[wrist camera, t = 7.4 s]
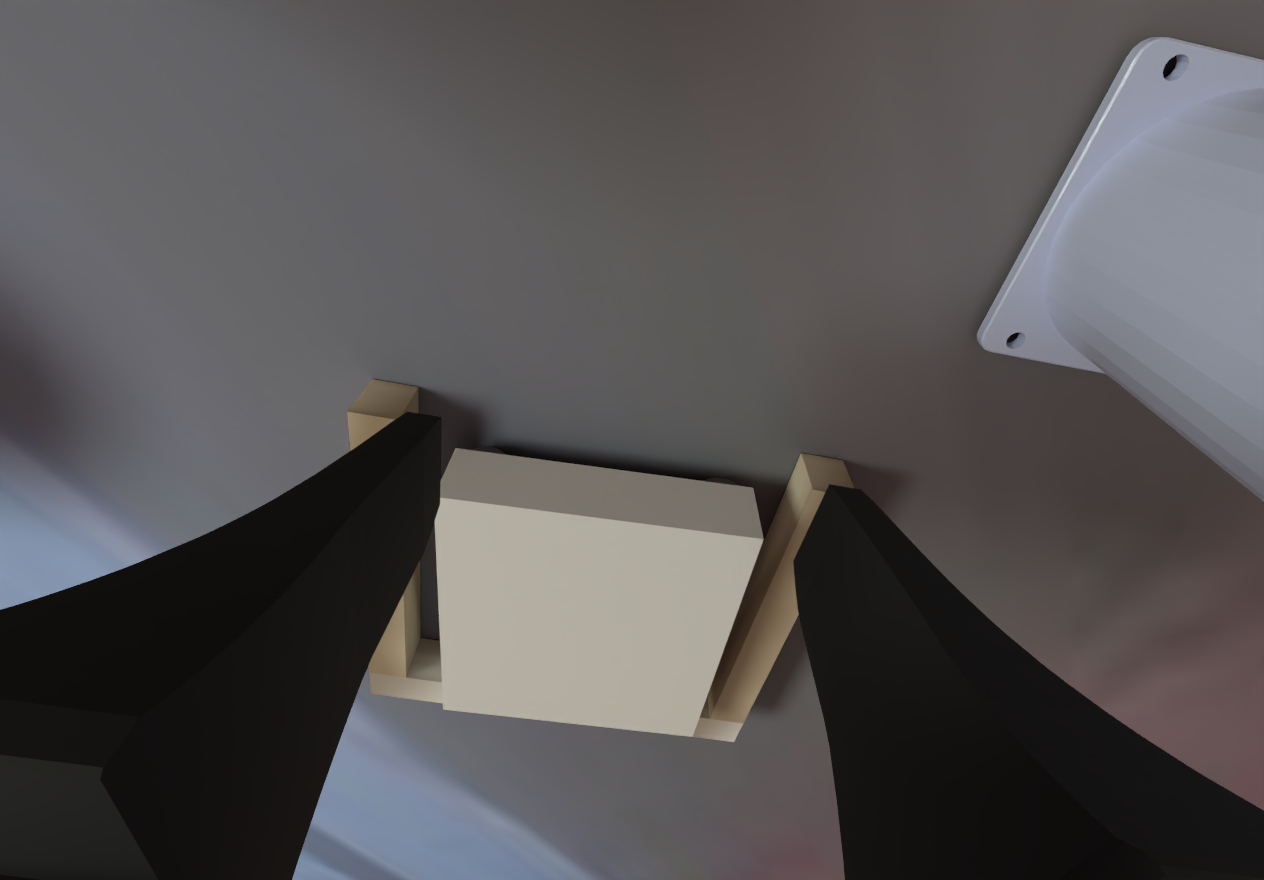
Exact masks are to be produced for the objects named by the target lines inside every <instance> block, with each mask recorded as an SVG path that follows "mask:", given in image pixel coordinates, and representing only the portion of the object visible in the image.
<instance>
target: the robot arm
mask: <svg viewBox="0 0 1264 880" xmlns="http://www.w3.org/2000/svg"><path fill="white" fill-rule="evenodd" d="M1174 56H1176V58H1177V64H1176V67H1175V69H1174V70H1173V71H1172V73H1171V74H1170V75H1169V76H1167V77H1165V78H1164V77H1163V70H1164V67H1165V65H1166V63H1167V62H1168V61H1169V60H1170V59H1171V58H1173V57H1174ZM1018 332H1019V335H1018V337H1017V338H1016V339H1015V340H1014V341H1012V342H1010V343H1006V342H1007V339H1008V338H1009V337H1010V335H1012V334H1014V333H1018ZM977 341H978V342H979V344H980V345H981V346H982V347H983V348H984V349H985V350H987V351H989V352H993V353H998V354H1003V355H1009V356H1014V357H1019V358H1024V359H1030V360H1035V361H1040V362H1045V363H1051V364H1056V365H1061V366H1066V367H1072V368H1077V369H1082V370H1087V371H1093V372H1098V373H1103V374H1107V375H1108V376H1109V377H1110V378H1112V379H1113V380H1114V381H1115V382H1117V383H1118V384H1119V385H1120V386H1121V387H1123V388H1124V389H1125V390H1126V391H1128V392H1129V393H1130V394H1131V395H1133V396H1134V397H1135V398H1136V399H1137V400H1139V401H1140V402H1141V403H1142V404H1144V405H1145V406H1146V407H1147V408H1149V409H1150V410H1151V411H1152V412H1154V413H1155V414H1156V415H1157V416H1158V417H1160V418H1161V419H1162V420H1163V421H1165V422H1166V423H1167V424H1168V425H1170V426H1171V427H1172V428H1173V429H1174V430H1176V431H1177V432H1178V433H1179V434H1181V435H1182V436H1183V437H1184V438H1186V439H1187V440H1188V441H1189V442H1190V443H1192V444H1193V445H1194V446H1195V447H1197V448H1198V449H1199V450H1200V451H1202V452H1203V453H1204V454H1205V455H1206V456H1208V457H1209V458H1210V459H1211V460H1213V461H1214V462H1215V463H1216V464H1218V465H1219V466H1220V467H1221V468H1222V469H1224V470H1225V471H1226V472H1227V473H1229V474H1230V475H1231V476H1232V477H1234V478H1235V479H1236V480H1237V481H1238V482H1240V483H1241V484H1242V485H1243V486H1245V487H1246V488H1247V489H1248V490H1250V491H1251V492H1252V493H1253V494H1254V495H1256V496H1257V497H1258V498H1259V499H1261V500H1262V501H1263V502H1264V60H1261V59H1257V58H1253V57H1249V56H1244V55H1240V54H1236V53H1232V52H1228V51H1223V50H1219V49H1215V48H1211V47H1207V46H1202V45H1198V44H1194V43H1190V42H1186V41H1181V40H1177V39H1173V38H1169V37H1150V38H1148V39H1146V40H1143V41H1141V42H1140V43H1139V44H1138V45H1136V46H1135V47H1134V48H1133V49H1132V50H1131V52H1130V53H1129V54H1128V56H1127V57H1126V59H1125V61H1124V63H1123V64H1122V66H1121V68H1120V70H1119V72H1118V74H1117V75H1116V77H1115V79H1114V81H1113V83H1112V85H1111V87H1110V88H1109V90H1108V92H1107V94H1106V96H1105V98H1104V99H1103V101H1102V103H1101V105H1100V107H1099V109H1098V110H1097V112H1096V114H1095V116H1094V118H1093V120H1092V122H1091V123H1090V125H1089V127H1088V129H1087V131H1086V133H1085V134H1084V136H1083V138H1082V140H1081V142H1080V144H1079V145H1078V147H1077V149H1076V151H1075V153H1074V155H1073V157H1072V158H1071V160H1070V162H1069V164H1068V166H1067V168H1066V169H1065V171H1064V173H1063V175H1062V177H1061V179H1060V180H1059V182H1058V184H1057V186H1056V188H1055V190H1054V192H1053V193H1052V195H1051V197H1050V199H1049V201H1048V203H1047V204H1046V206H1045V208H1044V210H1043V212H1042V214H1041V215H1040V217H1039V219H1038V221H1037V223H1036V225H1035V227H1034V228H1033V230H1032V232H1031V234H1030V236H1029V238H1028V239H1027V241H1026V243H1025V245H1024V247H1023V249H1022V250H1021V252H1020V254H1019V256H1018V258H1017V260H1016V262H1015V263H1014V265H1013V267H1012V269H1011V271H1010V273H1009V274H1008V276H1007V278H1006V280H1005V282H1004V284H1003V285H1002V287H1001V289H1000V291H999V293H998V295H997V297H996V298H995V300H994V302H993V304H992V306H991V308H990V309H989V311H988V313H987V315H986V317H985V319H984V321H983V322H982V324H981V326H980V328H979V330H978V333H977ZM440 479H441V417H436V416H430V415H424V414H419V413H413V412H406V413H404V414H403V415H401V416H400V417H398V418H397V419H395V420H394V421H392V422H391V423H389V424H388V425H387V426H385V427H384V428H382V429H381V430H380V431H378V432H377V433H375V434H374V435H373V436H371V437H370V438H368V439H367V440H365V441H364V442H363V443H361V444H360V445H358V446H357V447H355V448H354V449H353V450H351V451H350V452H348V453H347V454H345V455H344V456H342V457H341V458H339V459H338V460H336V461H335V462H333V463H332V464H330V465H329V466H327V467H326V468H324V469H323V470H321V471H320V472H318V473H317V474H315V475H314V476H312V477H310V478H309V479H307V480H305V481H304V482H302V483H300V484H299V485H297V486H295V487H294V488H292V489H290V490H289V491H287V492H285V493H284V494H282V495H280V496H279V497H277V498H275V499H274V500H272V501H270V502H268V503H267V504H265V505H263V506H261V507H259V508H257V509H255V510H254V511H252V512H250V513H248V514H246V515H244V516H242V517H240V518H238V519H236V520H234V521H232V522H230V523H228V524H226V525H224V526H222V527H220V528H218V529H216V530H214V531H211V532H209V533H207V534H205V535H203V536H201V537H198V538H196V539H194V540H191V541H189V542H187V543H184V544H182V545H179V546H177V547H175V548H172V549H170V550H167V551H165V552H163V553H160V554H158V555H156V556H153V557H151V558H148V559H146V560H144V561H141V562H139V563H136V564H134V565H132V566H129V567H126V568H124V569H121V570H118V571H116V572H113V573H110V574H107V575H105V576H102V577H99V578H96V579H94V580H91V581H88V582H85V583H82V584H80V585H77V586H74V587H71V588H68V589H65V590H62V591H59V592H56V593H53V594H50V595H47V596H44V597H41V598H38V599H35V600H31V601H28V602H25V603H22V604H19V605H16V606H12V607H9V608H5V609H2V610H0V880H292V878H293V875H294V871H295V868H296V865H297V862H298V859H299V856H300V853H301V850H302V847H303V844H304V841H305V838H306V835H307V832H308V829H309V826H310V823H311V820H312V817H313V815H314V812H315V809H316V806H317V803H318V800H319V797H320V794H321V791H322V788H323V785H324V782H325V780H326V777H327V774H328V771H329V768H330V766H331V763H332V760H333V757H334V754H335V752H336V749H337V746H338V743H339V740H340V738H341V735H342V732H343V729H344V727H345V724H346V721H347V719H348V716H349V713H350V711H351V708H352V705H353V703H354V700H355V697H356V695H357V692H358V689H359V687H360V684H361V681H362V679H363V677H364V674H365V672H366V670H367V668H368V665H369V663H370V661H371V659H372V656H373V654H374V652H375V650H376V648H377V646H378V644H379V642H380V640H381V638H382V636H383V634H384V632H385V630H386V628H387V626H388V624H389V622H390V620H391V618H392V616H393V614H394V612H395V610H396V608H397V606H398V604H399V602H400V600H401V598H402V596H403V594H404V592H405V590H406V588H407V586H408V584H409V582H410V579H411V577H412V575H413V573H414V571H415V569H416V567H417V565H418V563H419V561H420V559H421V557H422V555H423V553H424V550H425V547H426V544H427V542H428V539H429V536H430V533H431V530H432V527H433V524H434V521H435V518H436V515H437V512H438V509H439V506H440ZM793 565H794V577H795V589H796V598H797V607H798V613H799V617H800V622H801V626H802V630H803V635H804V639H805V643H806V647H807V652H808V656H809V660H810V664H811V668H812V672H813V676H814V680H815V684H816V688H817V692H818V696H819V700H820V705H821V709H822V713H823V717H824V721H825V726H826V731H827V736H828V741H829V746H830V753H831V761H832V768H833V775H834V783H835V790H836V797H837V806H838V815H839V824H840V833H841V842H842V851H843V861H844V873H845V880H1264V811H1263V810H1262V809H1260V808H1258V807H1256V806H1255V805H1253V804H1251V803H1250V802H1248V801H1246V800H1244V799H1243V798H1241V797H1239V796H1237V795H1236V794H1234V793H1232V792H1231V791H1229V790H1227V789H1225V788H1224V787H1222V786H1220V785H1219V784H1217V783H1215V782H1213V781H1212V780H1210V779H1208V778H1206V777H1205V776H1203V775H1201V774H1200V773H1198V772H1197V771H1195V770H1193V769H1192V768H1190V767H1189V766H1187V765H1185V764H1184V763H1182V762H1181V761H1179V760H1178V759H1176V758H1175V757H1173V756H1171V755H1170V754H1168V753H1167V752H1165V751H1164V750H1162V749H1161V748H1159V747H1157V746H1156V745H1154V744H1153V743H1151V742H1150V741H1148V740H1147V739H1145V738H1143V737H1142V736H1140V735H1139V734H1137V733H1136V732H1135V731H1133V730H1132V729H1130V728H1129V727H1127V726H1126V725H1124V724H1123V723H1121V722H1120V721H1118V720H1117V719H1115V718H1114V717H1113V716H1111V715H1110V714H1108V713H1107V712H1105V711H1104V710H1103V709H1101V708H1100V707H1099V706H1097V705H1096V704H1095V703H1093V702H1092V701H1090V700H1089V699H1088V698H1086V697H1085V696H1084V695H1082V694H1081V693H1079V692H1078V691H1077V690H1075V689H1074V688H1073V687H1071V686H1070V685H1068V684H1067V683H1066V682H1064V681H1063V680H1062V679H1061V678H1059V677H1058V676H1057V675H1055V674H1054V673H1053V672H1052V671H1050V670H1049V669H1048V668H1046V667H1045V666H1044V665H1043V664H1041V663H1040V662H1039V661H1038V660H1037V659H1035V658H1034V657H1033V656H1032V655H1031V654H1029V653H1028V652H1027V651H1026V650H1025V649H1023V648H1022V647H1021V646H1020V645H1019V644H1017V643H1016V642H1015V641H1014V640H1012V639H1011V638H1010V637H1009V636H1008V635H1006V634H1005V633H1004V632H1003V631H1002V630H1001V629H1000V628H999V627H997V626H996V625H995V624H994V623H993V622H992V621H991V620H990V619H988V618H987V617H986V616H985V615H984V614H983V613H982V612H981V611H980V610H979V609H978V608H977V607H976V606H975V605H974V604H973V603H971V602H970V601H969V600H968V599H967V598H966V597H965V596H964V595H963V594H962V593H961V592H960V591H959V590H958V589H957V588H956V587H955V586H954V585H953V584H952V583H951V582H950V581H949V580H948V579H947V578H946V577H945V576H944V575H943V574H942V573H941V572H940V571H939V570H938V569H937V568H936V567H935V566H934V565H933V564H932V563H931V562H930V561H929V560H928V559H927V558H926V557H925V556H924V555H923V554H922V553H921V552H920V550H919V549H918V548H917V547H916V546H915V545H914V544H913V543H912V542H911V541H910V540H909V539H908V538H907V537H906V536H905V535H904V533H903V532H902V531H901V530H900V529H899V528H898V527H897V526H896V525H895V524H894V523H893V522H892V521H891V520H890V519H889V517H888V516H887V515H886V514H885V513H884V512H883V511H882V510H881V509H880V508H879V507H878V506H877V505H876V504H875V503H874V502H873V501H872V500H871V499H870V498H869V497H868V496H867V495H866V494H865V493H864V492H863V491H862V490H860V489H854V488H849V487H843V486H837V485H831V484H829V486H828V488H827V490H826V492H825V494H824V496H823V498H822V501H821V503H820V505H819V507H818V509H817V511H816V513H815V516H814V518H813V520H812V522H811V524H810V526H809V528H808V531H807V533H806V535H805V537H804V539H803V541H802V543H801V545H800V548H799V550H798V552H797V554H796V556H795V558H794V560H793Z"/></svg>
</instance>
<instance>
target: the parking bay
mask: <svg viewBox="0 0 1264 880" xmlns="http://www.w3.org/2000/svg"><path fill="white" fill-rule="evenodd" d="M406 412H413V413H419V387H415V386H409V385H404V384H398V383H392V382H386V381H380V380H375V379H372V380H371V381H370V382H369V384H368V385H367V386H366V388H365V389H364V390H363V392H362V393H361V394H360V396H359V397H358V398H357V400H356V401H355V402H354V403H353V405H352V406H351V407H350V409H349V410H348V411H347V414H348V425H349V437H350V449H351V450H353V449H354V448H355V447H357V446H358V445H360V444H361V443H363V442H364V441H365V440H367V439H368V438H370V437H371V436H373V435H374V434H375V433H377V432H378V431H380V430H381V429H382V428H384V427H385V426H387V425H388V424H389V423H391V422H392V421H394V420H395V419H397V418H398V417H400V416H401V415H403V414H404V413H406ZM829 484H831V485H837V486H843V487H849V488H854V486H853V484H852V481H851V479H850V476H849V474H848V472H847V469H846V467H845V464H844V462H843V460H838V459H833V458H827V457H821V456H815V455H809V454H804V453H801V454H800V457H799V459H798V461H797V464H796V466H795V469H794V471H793V473H792V476H791V478H790V481H789V483H788V485H787V488H786V490H785V492H784V495H783V497H782V500H781V502H780V504H779V507H778V509H777V512H776V514H775V516H774V519H773V521H772V524H771V526H770V528H769V531H768V533H767V535H766V538H765V540H764V543H763V545H762V547H761V550H760V552H759V555H758V557H757V559H756V562H755V565H754V568H753V570H752V573H751V576H750V579H749V581H748V584H747V587H746V590H745V593H744V595H743V598H742V601H741V604H740V606H739V609H738V612H737V615H736V618H735V620H734V623H733V626H732V629H731V631H730V634H729V637H728V640H727V643H726V645H725V648H724V651H723V654H722V656H721V659H720V662H719V665H718V667H717V670H716V673H715V676H714V679H713V681H712V684H711V687H710V690H709V692H708V695H707V698H706V701H705V704H704V706H703V709H702V712H701V715H700V717H699V720H698V723H697V726H696V729H695V731H694V734H693V737H700V738H707V739H715V740H722V741H730V742H734V741H735V739H736V737H737V735H738V733H739V731H740V729H741V727H742V725H743V723H744V721H745V719H746V717H747V715H748V713H749V711H750V709H751V707H752V705H753V703H754V701H755V699H756V698H757V696H758V694H759V692H760V690H761V688H762V686H763V684H764V682H765V680H766V678H767V676H768V674H769V672H770V670H771V668H772V666H773V664H774V662H775V660H776V658H777V656H778V654H779V652H780V650H781V648H782V646H783V644H784V642H785V640H786V639H787V637H788V635H789V633H790V631H791V629H792V627H793V625H794V623H795V621H796V619H797V617H798V615H799V613H798V607H797V598H796V589H795V577H794V565H793V560H794V558H795V556H796V554H797V552H798V550H799V548H800V545H801V543H802V541H803V539H804V537H805V535H806V533H807V531H808V528H809V526H810V524H811V522H812V520H813V518H814V516H815V513H816V511H817V509H818V507H819V505H820V503H821V501H822V498H823V496H824V494H825V492H826V490H827V488H828V486H829ZM854 489H855V488H854ZM369 672H370V684H371V694H377V695H385V696H392V697H400V698H407V699H415V700H422V701H430V702H437V703H443V695H442V673H441V651H440V641H438V640H431V639H424V638H421V601H420V561H419V563H418V565H417V567H416V569H415V571H414V573H413V575H412V577H411V579H410V582H409V584H408V586H407V588H406V590H405V592H404V594H403V596H402V598H401V600H400V602H399V604H398V606H397V608H396V610H395V612H394V614H393V616H392V618H391V620H390V622H389V624H388V626H387V628H386V630H385V632H384V634H383V636H382V638H381V640H380V642H379V644H378V646H377V648H376V650H375V652H374V654H373V656H372V659H371V661H370V663H369Z"/></svg>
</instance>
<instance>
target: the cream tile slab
mask: <svg viewBox="0 0 1264 880" xmlns="http://www.w3.org/2000/svg"><path fill="white" fill-rule="evenodd" d="M763 540H764V538H763V533H762V528H761V524H760V519H759V514H758V509H757V504H756V499H755V494H754V489H753V488H751V487H744V486H738V485H737V484H735V483H734V482H732V481H731V480H728V479H725V478H721V477H714V478H709V479H706V480H704V481H699V480H691V479H684V478H676V477H669V476H661V475H654V474H646V473H639V472H631V471H624V470H616V469H609V468H601V467H594V466H586V465H579V464H571V463H564V462H556V461H549V460H541V459H534V458H526V457H519V456H511V455H507V454H505V453H504V452H503V451H501V450H499V449H497V448H494V447H489V446H483V447H477V448H474V449H472V450H466V449H459V448H455V450H454V453H453V455H452V457H451V459H450V461H449V464H448V466H447V468H446V470H445V472H444V475H443V477H442V479H441V481H440V506H439V509H438V512H437V515H436V518H435V541H436V563H437V585H438V607H439V629H440V651H441V673H442V695H443V709H444V710H453V711H463V712H472V713H481V714H490V715H499V716H508V717H517V718H526V719H535V720H544V721H554V722H563V723H572V724H581V725H590V726H599V727H608V728H617V729H626V730H635V731H645V732H654V733H663V734H672V735H681V736H690V737H693V734H694V731H695V729H696V726H697V723H698V720H699V717H700V715H701V712H702V709H703V706H704V704H705V701H706V698H707V695H708V692H709V690H710V687H711V684H712V681H713V679H714V676H715V673H716V670H717V667H718V665H719V662H720V659H721V656H722V654H723V651H724V648H725V645H726V643H727V640H728V637H729V634H730V631H731V629H732V626H733V623H734V620H735V618H736V615H737V612H738V609H739V606H740V604H741V601H742V598H743V595H744V593H745V590H746V587H747V584H748V581H749V579H750V576H751V573H752V570H753V568H754V565H755V562H756V559H757V556H758V554H759V551H760V548H761V545H762V543H763Z"/></svg>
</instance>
